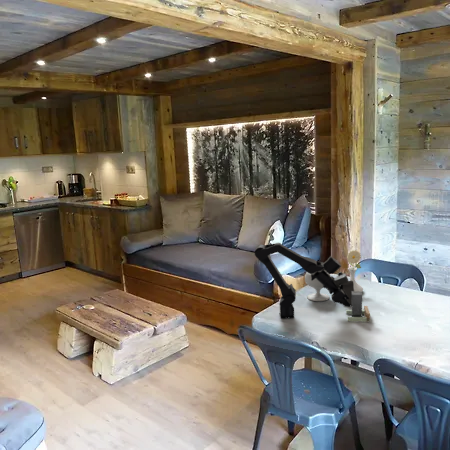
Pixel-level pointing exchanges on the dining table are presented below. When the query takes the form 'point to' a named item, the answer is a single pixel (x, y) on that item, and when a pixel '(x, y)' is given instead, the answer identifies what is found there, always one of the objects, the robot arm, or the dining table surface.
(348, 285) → the phone stand
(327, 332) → the dining table surface
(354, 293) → the block
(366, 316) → the keeper
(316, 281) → the chalice
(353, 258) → the flower in vase
